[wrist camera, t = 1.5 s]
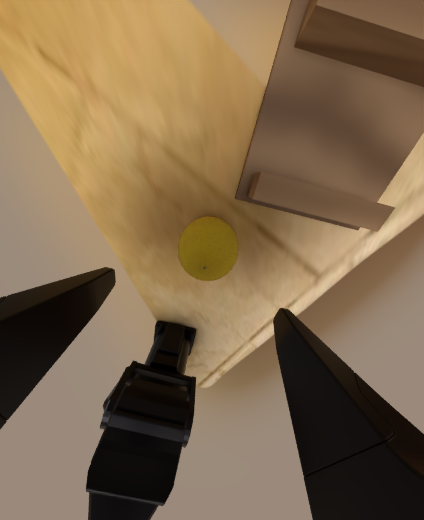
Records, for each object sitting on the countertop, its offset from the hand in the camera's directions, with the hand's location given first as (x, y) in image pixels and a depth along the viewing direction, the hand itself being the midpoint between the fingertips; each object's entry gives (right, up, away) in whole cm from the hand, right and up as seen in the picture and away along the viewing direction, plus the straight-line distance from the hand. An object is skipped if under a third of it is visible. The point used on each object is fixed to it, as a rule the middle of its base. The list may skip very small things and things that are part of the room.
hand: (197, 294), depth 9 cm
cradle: (+11, +12, +6) cm, 18 cm away
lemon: (+1, +5, +10) cm, 11 cm away
